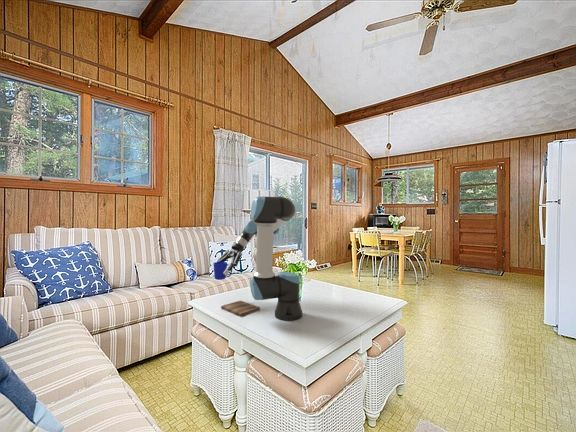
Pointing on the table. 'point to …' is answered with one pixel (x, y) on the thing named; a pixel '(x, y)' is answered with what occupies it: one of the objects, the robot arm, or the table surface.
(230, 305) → the walnut board
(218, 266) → the mug
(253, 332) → the table surface
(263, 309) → the table surface
